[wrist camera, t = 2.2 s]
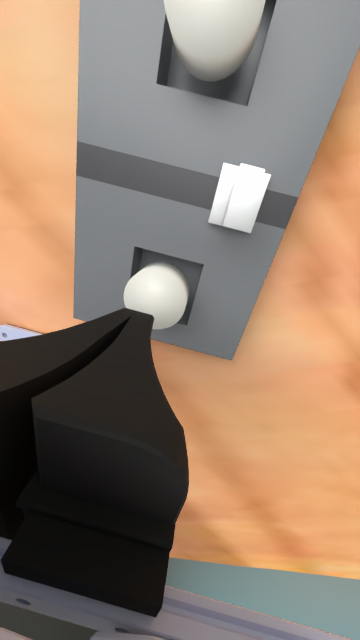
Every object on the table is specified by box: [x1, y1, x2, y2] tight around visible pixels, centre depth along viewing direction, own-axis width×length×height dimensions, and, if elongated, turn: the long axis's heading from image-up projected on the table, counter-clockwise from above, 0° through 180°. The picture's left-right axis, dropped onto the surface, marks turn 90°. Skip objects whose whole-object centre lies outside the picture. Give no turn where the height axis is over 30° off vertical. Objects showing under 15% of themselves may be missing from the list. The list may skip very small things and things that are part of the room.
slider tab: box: [208, 163, 271, 233], centre depth 11 cm, size 3×2×3 cm
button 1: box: [124, 262, 189, 329], centre depth 14 cm, size 4×4×2 cm
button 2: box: [164, 0, 266, 82], centre depth 9 cm, size 4×4×2 cm
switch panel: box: [73, 0, 360, 360], centre depth 14 cm, size 20×12×2 cm, turn 167°
